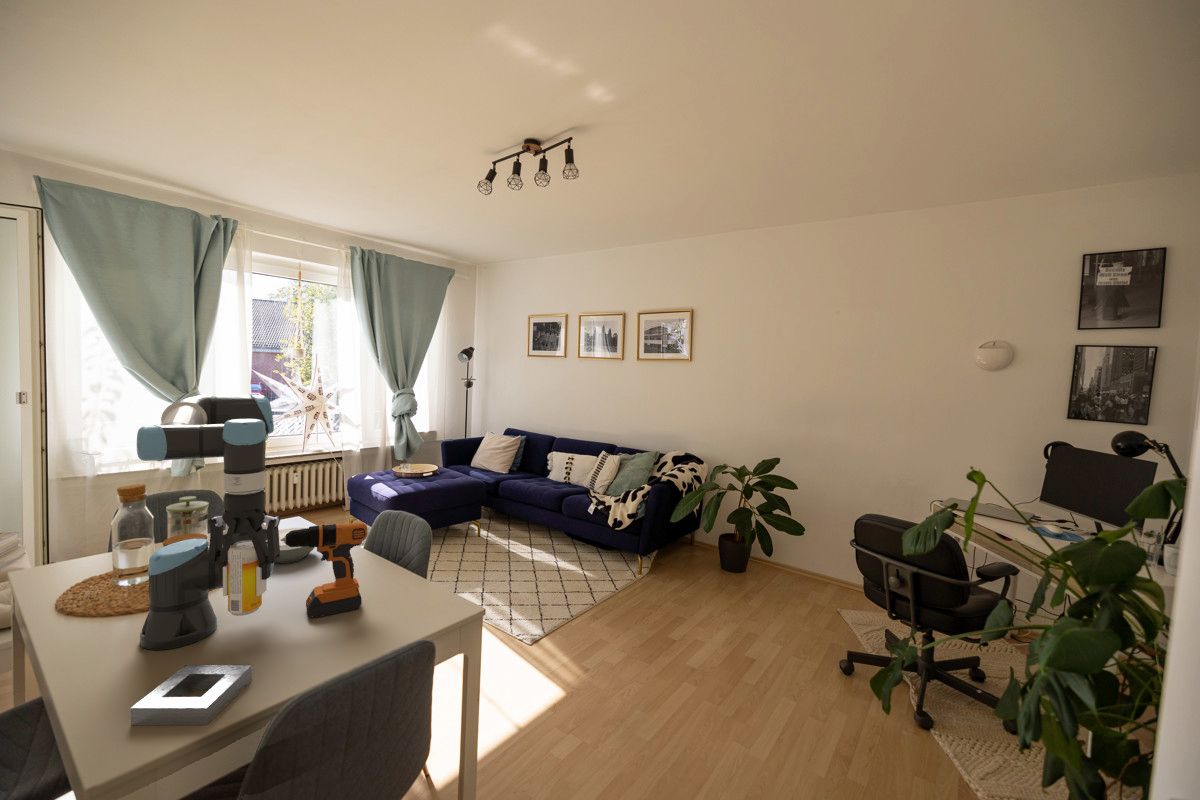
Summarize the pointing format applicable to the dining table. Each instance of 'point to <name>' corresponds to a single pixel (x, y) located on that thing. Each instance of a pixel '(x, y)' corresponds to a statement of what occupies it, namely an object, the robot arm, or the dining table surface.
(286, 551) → the bowl
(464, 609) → the dining table surface
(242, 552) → the beer can
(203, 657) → the dining table surface
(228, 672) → the collar
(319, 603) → the power drill
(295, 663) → the dining table surface
